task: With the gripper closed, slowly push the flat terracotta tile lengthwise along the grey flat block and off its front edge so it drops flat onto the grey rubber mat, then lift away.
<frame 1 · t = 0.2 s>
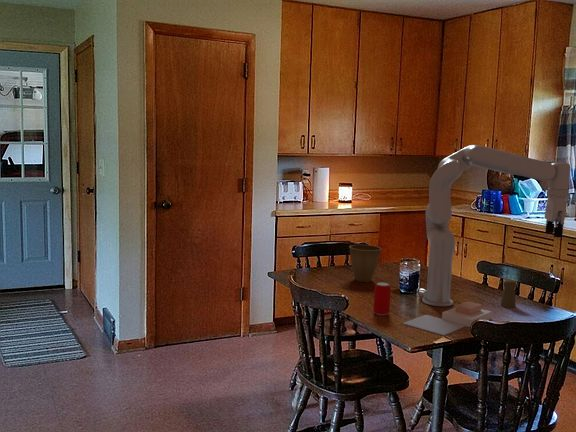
hand: (553, 235, 248), 31 cm above the table, tool pointing down, fingers open, 9 cm apart
plant pot: (363, 280, 289), on the table
grey flat block: (466, 319, 234), on the table
cork: (507, 306, 254), on the table
terracotta tile: (468, 311, 234), point 3 cm above the table, touching grey flat block
beverage can: (381, 314, 237), on the table
mat: (434, 325, 225), on the table
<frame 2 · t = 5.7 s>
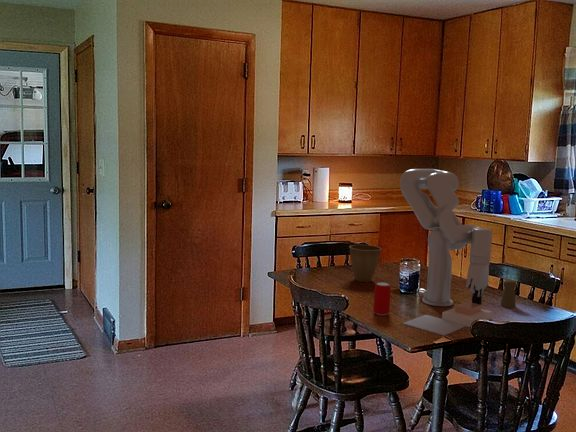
hand: (476, 305, 238), 4 cm above the table, tool pointing down, fingers closed
terracotta tile: (468, 311, 234), point 3 cm above the table, touching grey flat block, gripper
everything else where it was.
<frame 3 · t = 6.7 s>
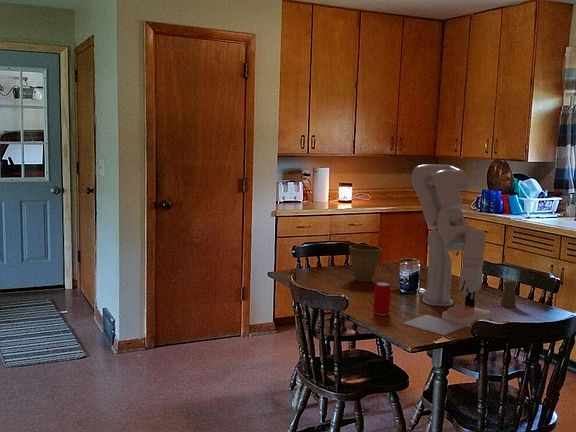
hand: (469, 308, 234), 4 cm above the table, tool pointing down, fingers closed
terracotta tile: (460, 314, 230), point 3 cm above the table, touching grey flat block, gripper
everything else where it was.
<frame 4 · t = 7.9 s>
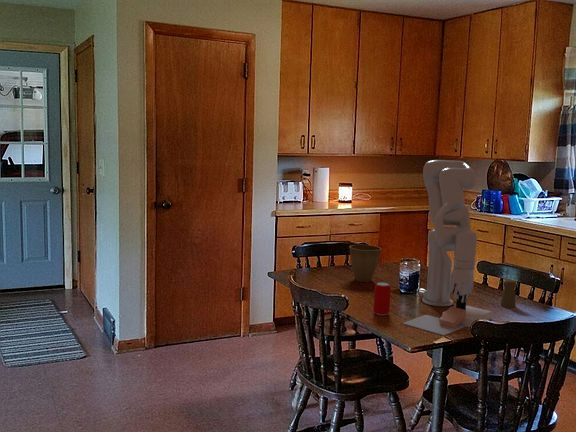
hand: (460, 311, 229), 4 cm above the table, tool pointing down, fingers closed
terracotta tile: (453, 320, 226), point 2 cm above the table, tilted 21°, touching grey flat block, gripper, mat
everything else where it was.
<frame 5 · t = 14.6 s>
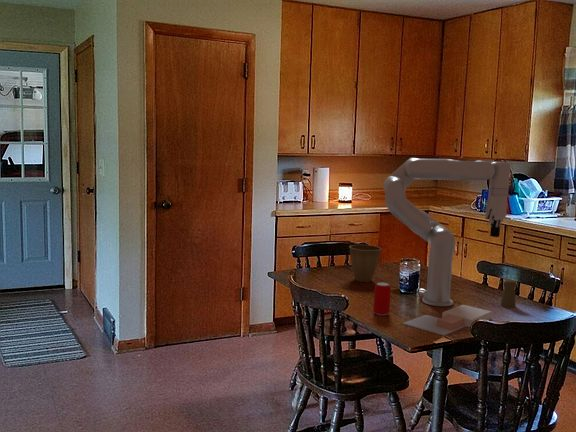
hand: (494, 236, 251), 29 cm above the table, tool pointing down, fingers closed
terracotta tile: (450, 325, 224), on the table, touching mat
everything else where it was.
at the end: terracotta tile inside the target area (5.8 cm from its centre), on the table; terracotta tile tilted 0° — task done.
